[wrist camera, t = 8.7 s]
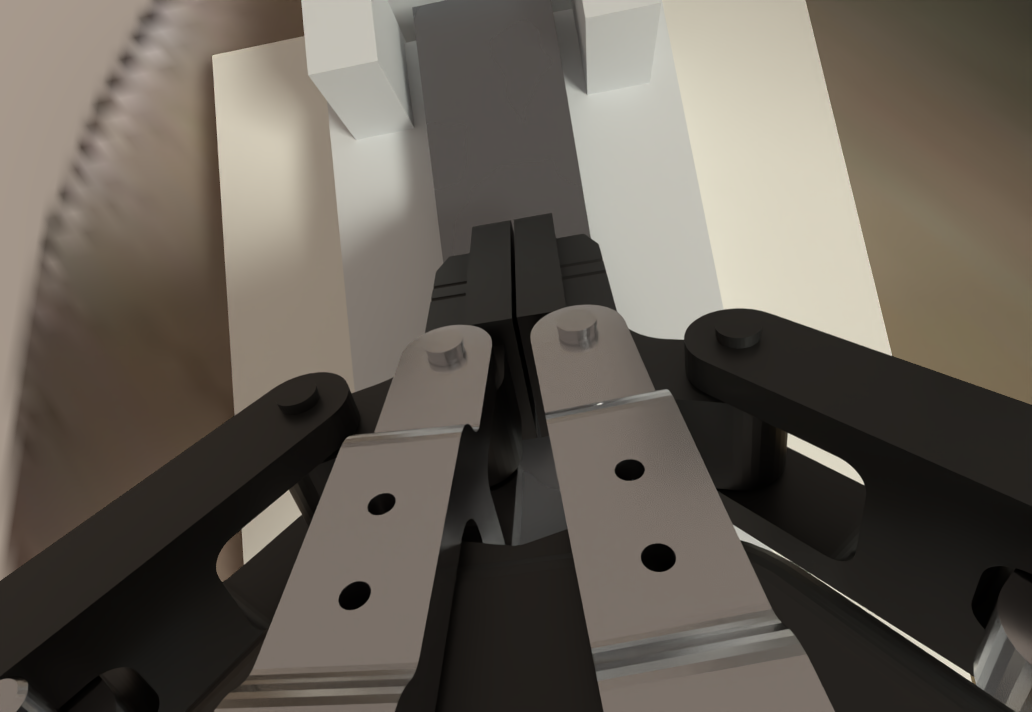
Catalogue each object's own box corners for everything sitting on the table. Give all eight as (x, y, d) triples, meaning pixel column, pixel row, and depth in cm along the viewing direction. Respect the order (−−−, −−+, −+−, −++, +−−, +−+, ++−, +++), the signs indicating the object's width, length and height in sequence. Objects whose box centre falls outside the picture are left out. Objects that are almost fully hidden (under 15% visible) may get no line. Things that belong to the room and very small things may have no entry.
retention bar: (551, 13, 15) (546, -25, 14) (703, 928, 12) (715, 978, 11) (424, 39, 16) (410, 4, 14) (537, 941, 12) (530, 991, 11)
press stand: (769, -13, 19) (860, -266, 13) (998, 968, 15) (1328, 1380, 8) (248, 94, 21) (83, -82, 14) (314, 1012, 16) (120, 1391, 10)
